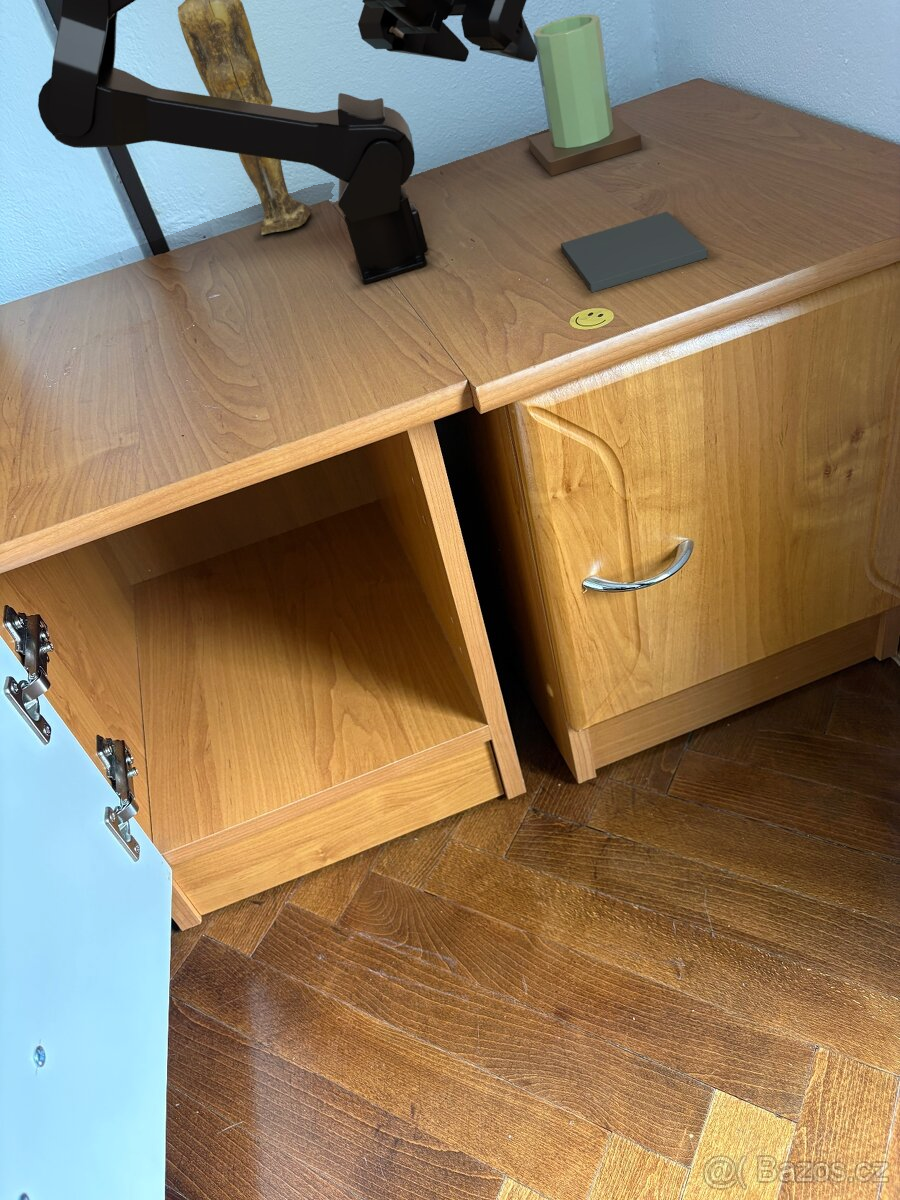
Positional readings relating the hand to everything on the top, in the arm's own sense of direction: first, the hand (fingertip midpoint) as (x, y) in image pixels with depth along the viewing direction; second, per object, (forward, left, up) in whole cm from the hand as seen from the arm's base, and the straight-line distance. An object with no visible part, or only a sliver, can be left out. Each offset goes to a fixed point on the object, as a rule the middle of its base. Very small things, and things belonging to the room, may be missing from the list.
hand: (499, 56), depth 95 cm
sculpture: (-25, +13, -14) cm, 32 cm away
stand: (+9, +9, -13) cm, 19 cm away
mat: (+5, -21, -13) cm, 25 cm away
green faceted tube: (+9, +9, -12) cm, 17 cm away
